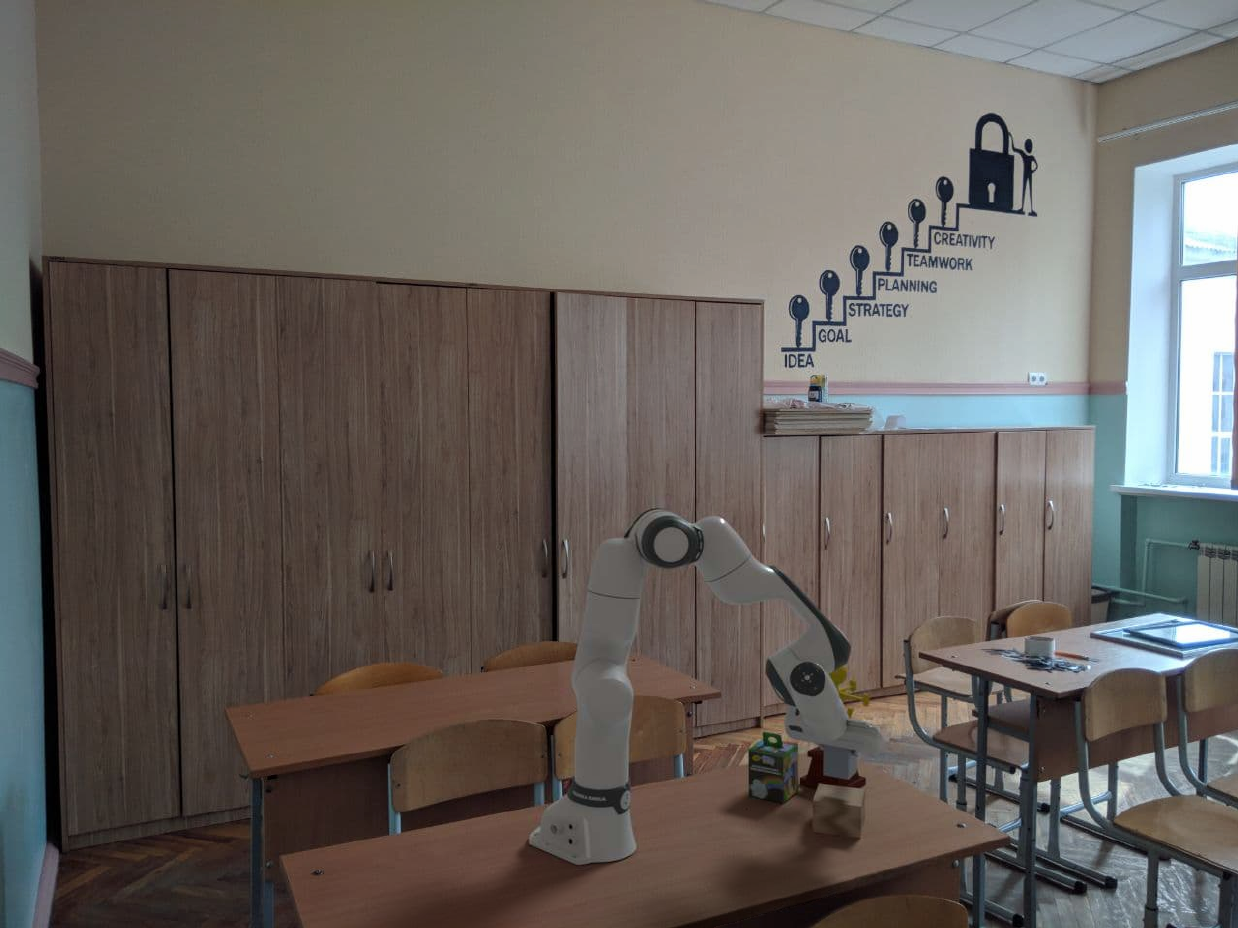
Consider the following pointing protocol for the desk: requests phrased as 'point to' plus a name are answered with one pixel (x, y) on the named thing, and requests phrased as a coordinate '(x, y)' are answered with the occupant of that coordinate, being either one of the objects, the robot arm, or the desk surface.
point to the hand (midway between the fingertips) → (841, 750)
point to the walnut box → (839, 810)
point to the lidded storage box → (839, 762)
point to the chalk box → (773, 769)
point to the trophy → (817, 762)
